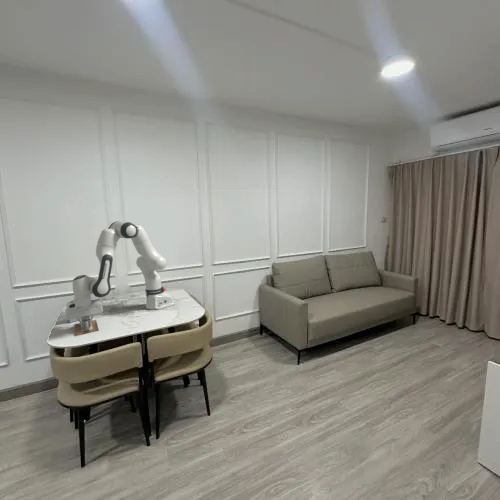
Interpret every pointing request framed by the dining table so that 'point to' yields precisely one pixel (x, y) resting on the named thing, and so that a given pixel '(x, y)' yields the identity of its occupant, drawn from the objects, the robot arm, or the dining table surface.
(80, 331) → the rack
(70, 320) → the medicine box
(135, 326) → the dining table surface
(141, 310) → the dining table surface
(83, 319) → the grey round-headed bar
